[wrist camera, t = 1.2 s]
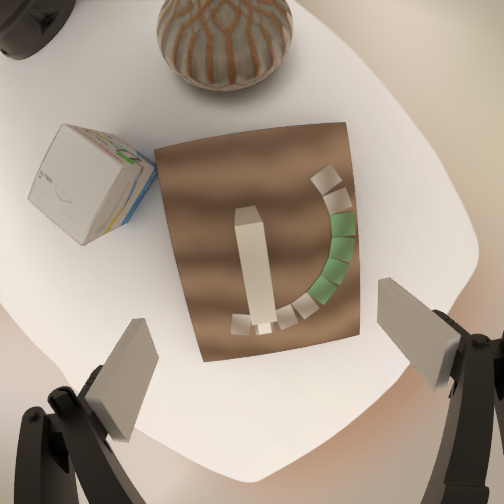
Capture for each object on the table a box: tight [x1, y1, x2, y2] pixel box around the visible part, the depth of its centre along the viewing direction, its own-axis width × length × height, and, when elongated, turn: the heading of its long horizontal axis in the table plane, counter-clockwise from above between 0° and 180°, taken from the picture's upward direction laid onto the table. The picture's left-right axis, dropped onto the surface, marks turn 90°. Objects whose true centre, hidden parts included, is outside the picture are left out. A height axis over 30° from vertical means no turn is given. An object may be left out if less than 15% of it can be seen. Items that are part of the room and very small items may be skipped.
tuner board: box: [154, 122, 360, 362], centre depth 34 cm, size 28×22×2 cm
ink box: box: [28, 124, 158, 246], centre depth 26 cm, size 9×8×12 cm
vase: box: [157, 0, 293, 91], centre depth 20 cm, size 13×13×18 cm
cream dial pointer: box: [234, 206, 277, 335], centre depth 28 cm, size 16×2×12 cm, turn 9°
